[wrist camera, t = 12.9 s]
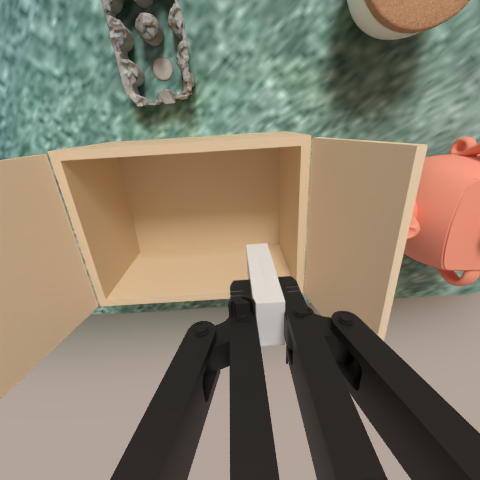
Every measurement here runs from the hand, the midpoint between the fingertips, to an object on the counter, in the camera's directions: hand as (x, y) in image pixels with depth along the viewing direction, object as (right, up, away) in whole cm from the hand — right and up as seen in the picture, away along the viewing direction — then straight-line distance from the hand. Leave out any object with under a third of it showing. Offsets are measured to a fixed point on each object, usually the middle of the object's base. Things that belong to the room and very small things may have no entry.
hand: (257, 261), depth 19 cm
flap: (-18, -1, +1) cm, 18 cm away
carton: (-6, +7, +17) cm, 20 cm away
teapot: (+25, +7, +18) cm, 32 cm away
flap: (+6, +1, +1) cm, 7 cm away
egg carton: (-10, +23, +11) cm, 27 cm away
